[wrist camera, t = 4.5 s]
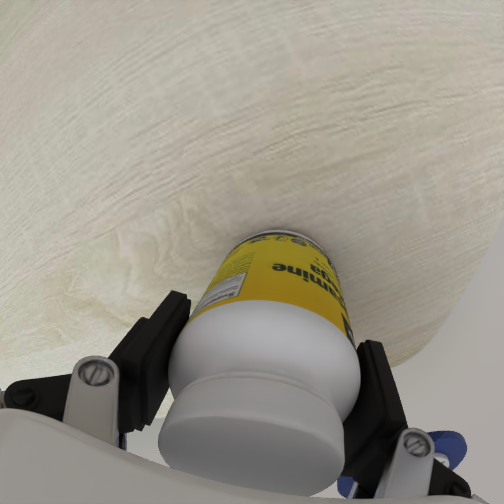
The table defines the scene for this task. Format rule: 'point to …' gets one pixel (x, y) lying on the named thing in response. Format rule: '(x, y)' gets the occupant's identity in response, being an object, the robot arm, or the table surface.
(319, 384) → the pill bottle
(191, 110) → the table surface
